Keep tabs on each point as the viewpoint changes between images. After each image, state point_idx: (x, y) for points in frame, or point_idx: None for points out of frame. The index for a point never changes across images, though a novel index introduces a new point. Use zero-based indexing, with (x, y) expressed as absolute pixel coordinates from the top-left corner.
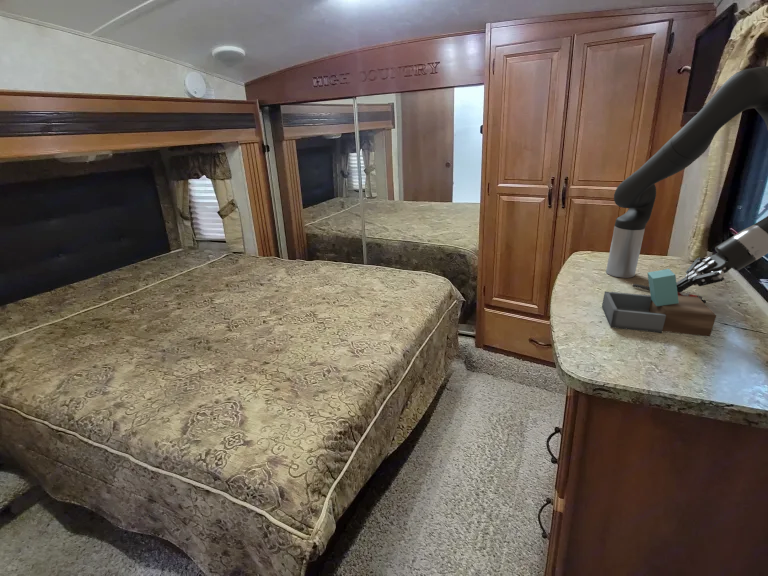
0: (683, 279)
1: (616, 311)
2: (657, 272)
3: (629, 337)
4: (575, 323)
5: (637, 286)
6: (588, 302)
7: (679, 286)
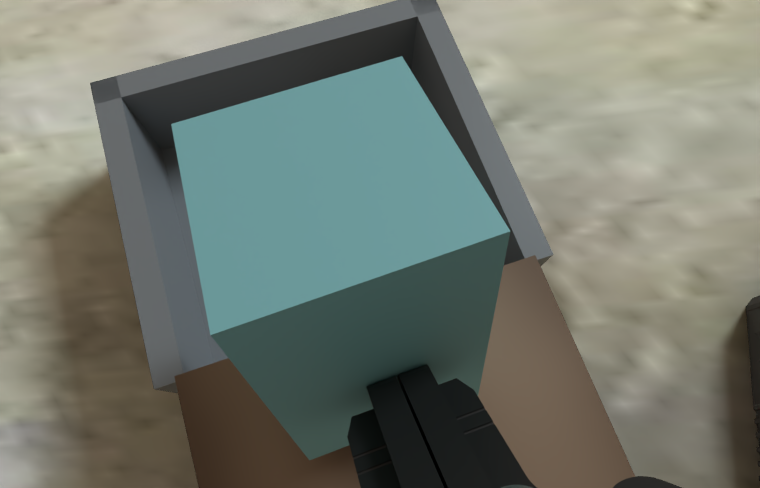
0: (443, 465)
1: (96, 99)
2: (376, 134)
3: (51, 246)
4: (113, 3)
5: None
6: (445, 3)
7: (352, 435)
